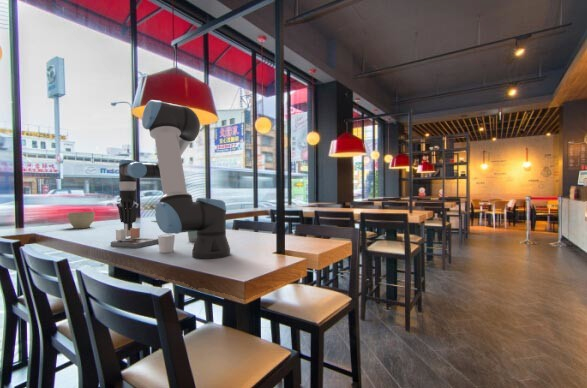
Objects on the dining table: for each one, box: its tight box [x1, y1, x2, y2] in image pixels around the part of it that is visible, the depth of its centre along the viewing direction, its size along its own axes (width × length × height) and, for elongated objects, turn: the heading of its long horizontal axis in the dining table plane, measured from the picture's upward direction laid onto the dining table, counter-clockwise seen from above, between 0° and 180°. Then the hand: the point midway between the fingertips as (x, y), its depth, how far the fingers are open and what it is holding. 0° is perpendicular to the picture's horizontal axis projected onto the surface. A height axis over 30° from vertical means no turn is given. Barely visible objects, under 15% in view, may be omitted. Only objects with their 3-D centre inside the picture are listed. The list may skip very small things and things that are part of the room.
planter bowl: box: [66, 211, 96, 229], centre depth 214 cm, size 16×16×11 cm
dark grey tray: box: [110, 237, 159, 249], centre depth 147 cm, size 16×14×2 cm
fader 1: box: [115, 228, 127, 241], centre depth 146 cm, size 3×3×5 cm
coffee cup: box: [187, 231, 197, 243], centre depth 157 cm, size 8×8×12 cm
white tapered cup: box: [157, 233, 176, 254], centre depth 131 cm, size 7×7×7 cm
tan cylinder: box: [130, 227, 141, 238], centre depth 152 cm, size 3×3×5 cm
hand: (128, 236), depth 153 cm, fingers closed
